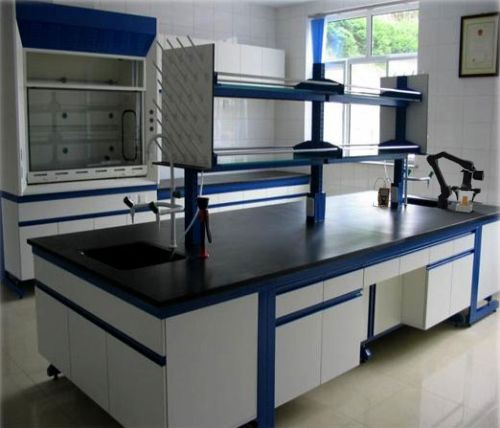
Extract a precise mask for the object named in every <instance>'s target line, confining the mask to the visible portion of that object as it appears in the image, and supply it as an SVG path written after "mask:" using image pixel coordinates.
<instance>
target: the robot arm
mask: <svg viewBox="0 0 500 428" xmlns="http://www.w3.org/2000/svg"><path fill="white" fill-rule="evenodd" d="M442 158H444V159H446V160H448V161H450V162H452V163H455V164H458V165H459V166H460V167H461V168H462V169H461V170H460V173H462V181H461V184H460V187H459V185H453V186H451V185H448V183H447V182H446V180H445V177H444V175H443V173H442V170H441V169H440V168H441V167H440V166H439V159H442ZM426 163H428V165H429V166H430V167H431V168H432V170H433V172H434V175H435V178H436V180H437V182H438V184H439V188H440V190H439V191H440V194H439V195H437V206H436V208H437V209H444V210H445V209H448V208H449V204H450V201H449V198H450V197H451V196H452V195H453V193H454V194H455V197H456V201H457V202H458V201H459V197H460V195H459V194H460V193H459V191H461V192H473V193H472V197H471V200H472V201H471V203H470V204H473V203H472V202H473V201H475V200H474V199H475V198H476V196H477V195H479V194H481V193H482V188H481V187H474V188H473V184H472V181H473V180H474V181H482V182H484V180H485V171H484V170H477V168H476V167H475V164H474V161H472V160H470V159H469V160H468V159H464V158H460V157H458V156H456V155H454V154H452V153H449V152H447V151H446V150H444V151H443V150H442V151H441V152H438V153H435V154H434V153H433V154H429V155H427V156H426ZM472 179H473V180H472Z"/></svg>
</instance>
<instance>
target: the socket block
mask: <svg viewBox="0 0 500 428" xmlns="http://www.w3.org/2000/svg"><path fill="white" fill-rule="evenodd" d="M459 203H460V202H458V203H457V204H456V205H455V212H464V213H470V212H472V210H473V204H474V203H470V205H469V206H465V205H459Z"/></svg>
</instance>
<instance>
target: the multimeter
mask: <svg viewBox="0 0 500 428" xmlns="http://www.w3.org/2000/svg"><path fill="white" fill-rule="evenodd" d="M379 179H380V177H378V178H377V179H376V181H375V184H374V186H373V189H375V188H376V187H375V186H376V183H377V182H378V180H379ZM381 179H382V180H383V183H384V186H383V187H382V186H381V187H378V191H377V192H378V193H377V206H376V205H375V203H373V205H372V206H374V207H376V208H378V207H379V208H382V207H385V208H389V207H390V206H389V205H390V198H393V196H392V194H391V190H392V188H393V186H391V187H387V183H386V181H387V179H388V178H386V179H385V180H384V178H383V177H381ZM389 180H390V182H391V183H393V182H392V180H391V178H389ZM390 195H391V197H390Z"/></svg>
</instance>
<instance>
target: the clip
mask: <svg viewBox="0 0 500 428" xmlns="http://www.w3.org/2000/svg"><path fill="white" fill-rule="evenodd" d="M471 201H472V199H471V200H470V199H468V200H467V203H470V204H475V205H480V206H483V204H484V203H483V202H481V201H475V200H473V202H472V203H471Z"/></svg>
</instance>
